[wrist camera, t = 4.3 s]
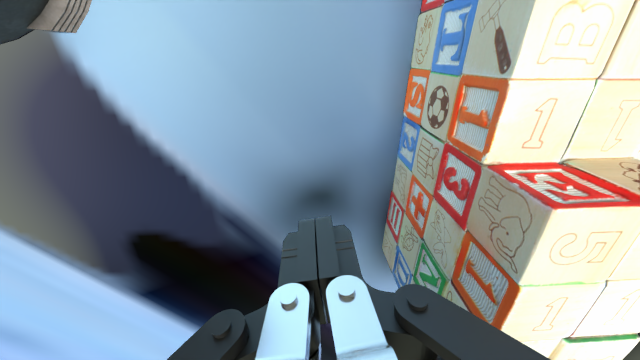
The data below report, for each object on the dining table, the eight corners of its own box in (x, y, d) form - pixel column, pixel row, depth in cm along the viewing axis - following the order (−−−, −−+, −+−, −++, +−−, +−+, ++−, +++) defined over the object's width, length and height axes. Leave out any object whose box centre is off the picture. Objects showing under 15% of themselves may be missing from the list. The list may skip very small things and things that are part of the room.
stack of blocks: (425, -55, 14) (917, -520, 3) (534, -52, 14) (1383, -457, 3) (381, 249, 23) (449, 424, 12) (447, 247, 23) (573, 416, 12)
